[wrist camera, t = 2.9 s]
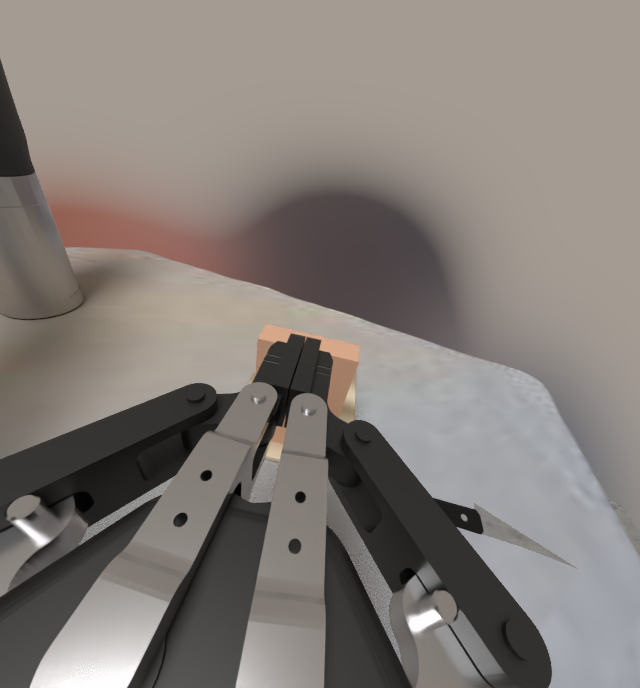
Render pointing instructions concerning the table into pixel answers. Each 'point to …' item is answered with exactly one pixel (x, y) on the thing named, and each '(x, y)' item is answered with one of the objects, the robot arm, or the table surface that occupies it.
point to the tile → (342, 366)
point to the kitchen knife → (496, 528)
